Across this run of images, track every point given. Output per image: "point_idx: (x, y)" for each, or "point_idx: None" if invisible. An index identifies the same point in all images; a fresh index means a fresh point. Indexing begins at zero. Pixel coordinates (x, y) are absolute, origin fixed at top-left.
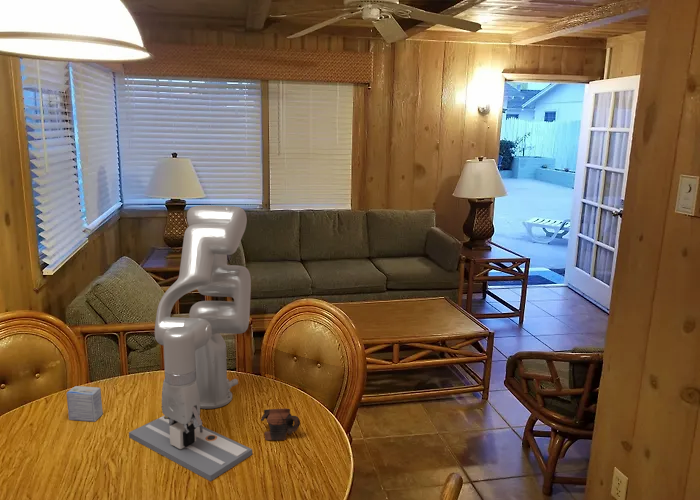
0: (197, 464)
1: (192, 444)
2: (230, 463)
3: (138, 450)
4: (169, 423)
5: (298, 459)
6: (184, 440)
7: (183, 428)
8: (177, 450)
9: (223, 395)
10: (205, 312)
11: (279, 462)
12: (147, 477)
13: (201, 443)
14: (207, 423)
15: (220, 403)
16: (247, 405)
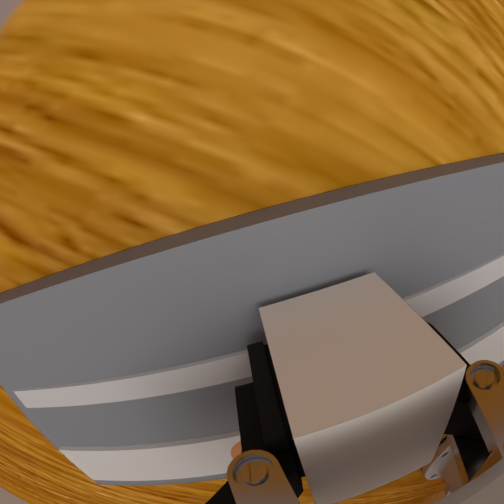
0: (44, 320)
1: None
2: (26, 414)
3: (462, 110)
4: (493, 366)
5: (48, 489)
6: (253, 382)
7: (318, 464)
8: (279, 285)
9: (443, 477)
10: None
11: (43, 471)
12: (153, 14)
13: None
14: None
15: (433, 464)
16: (372, 497)
